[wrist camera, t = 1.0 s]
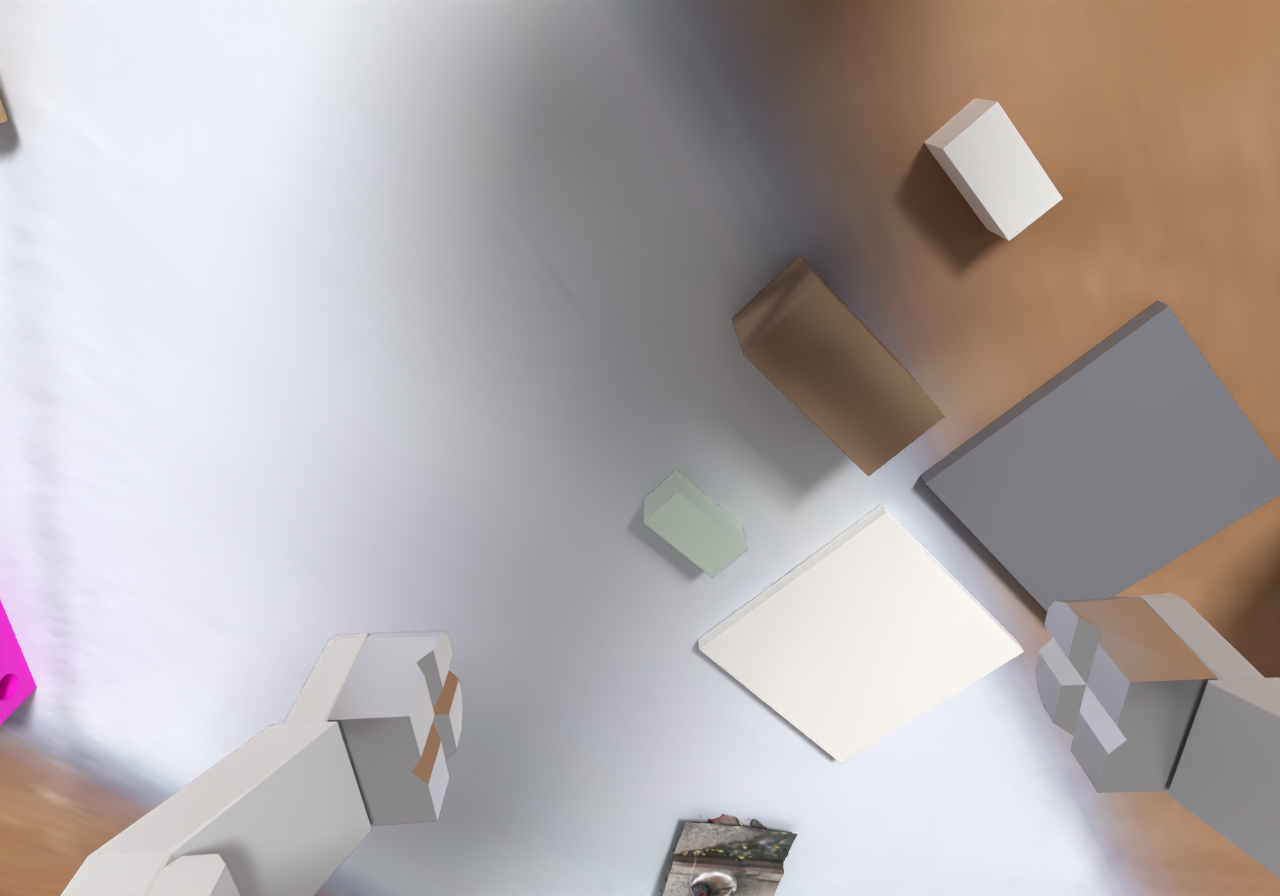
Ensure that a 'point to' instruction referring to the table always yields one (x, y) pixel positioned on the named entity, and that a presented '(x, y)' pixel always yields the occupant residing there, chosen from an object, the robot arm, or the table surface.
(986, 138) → the pale grey brick
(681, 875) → the statue
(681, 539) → the sage brick
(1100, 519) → the charcoal mat
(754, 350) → the walnut brick
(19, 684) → the magenta cradle bracket
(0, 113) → the mallet
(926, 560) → the off-white mat
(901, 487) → the table surface
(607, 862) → the table surface
